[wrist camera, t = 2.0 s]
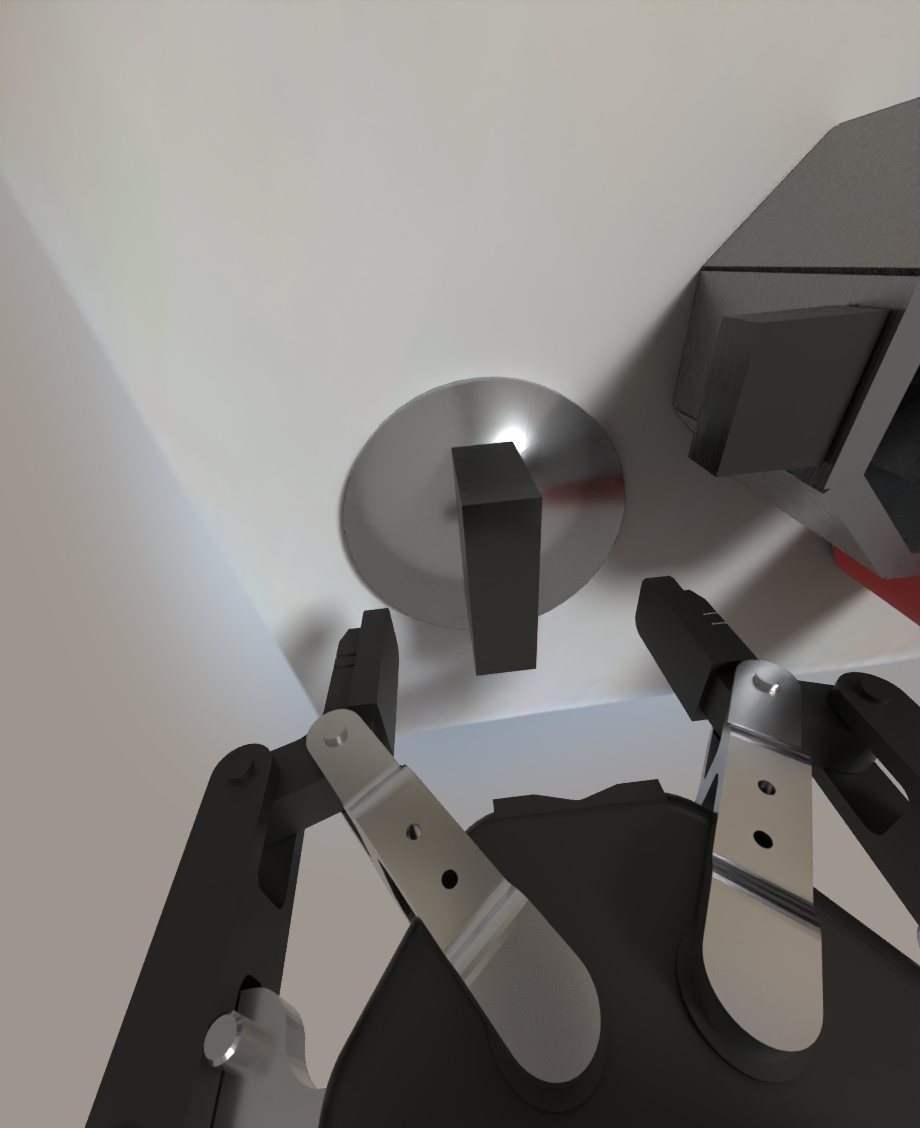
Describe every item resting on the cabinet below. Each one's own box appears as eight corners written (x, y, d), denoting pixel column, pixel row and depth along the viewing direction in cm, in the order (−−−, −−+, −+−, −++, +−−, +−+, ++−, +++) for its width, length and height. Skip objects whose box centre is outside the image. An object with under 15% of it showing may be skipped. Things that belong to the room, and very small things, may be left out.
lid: (311, 393, 14) (267, 448, 10) (638, 358, 15) (727, 399, 10) (376, 630, 21) (365, 724, 17) (600, 604, 21) (646, 690, 17)
